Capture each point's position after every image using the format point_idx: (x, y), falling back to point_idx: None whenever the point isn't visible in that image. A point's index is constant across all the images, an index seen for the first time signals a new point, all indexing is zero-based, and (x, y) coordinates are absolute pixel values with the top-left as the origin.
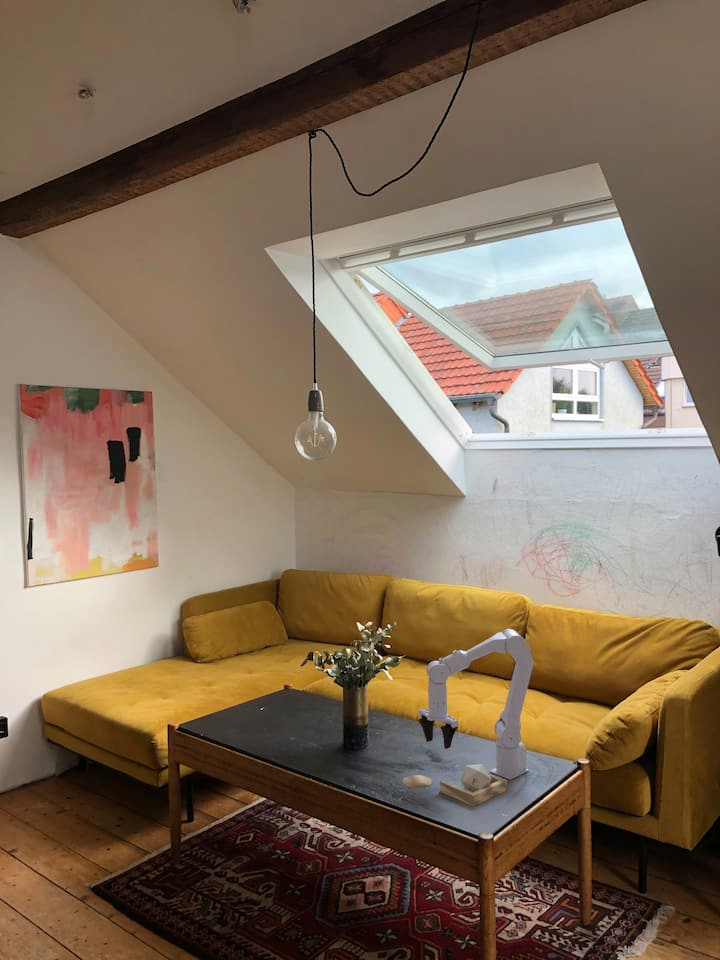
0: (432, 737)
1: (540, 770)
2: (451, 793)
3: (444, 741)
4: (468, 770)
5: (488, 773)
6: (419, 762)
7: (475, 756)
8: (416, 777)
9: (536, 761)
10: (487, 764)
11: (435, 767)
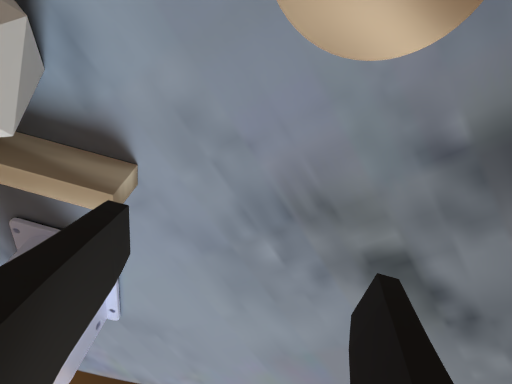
0: (351, 343)
1: None
2: None
3: (58, 250)
4: None
5: (6, 182)
6: (475, 218)
7: (251, 332)
8: (416, 5)
9: None
10: (173, 294)
11: (356, 199)
